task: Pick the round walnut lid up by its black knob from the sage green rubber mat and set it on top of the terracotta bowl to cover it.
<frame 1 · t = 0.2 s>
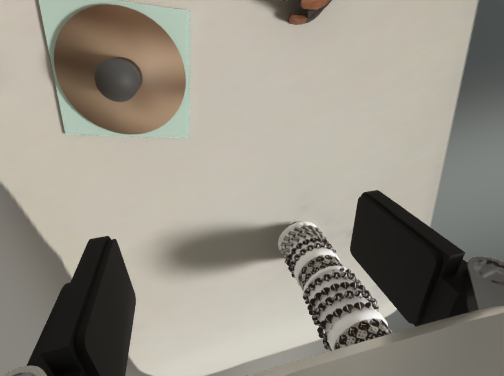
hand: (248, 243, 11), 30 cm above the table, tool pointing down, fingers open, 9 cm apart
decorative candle: (298, 238, 53), on the table
lid: (125, 75, 33), resting on mat
mat: (125, 74, 33), on the table
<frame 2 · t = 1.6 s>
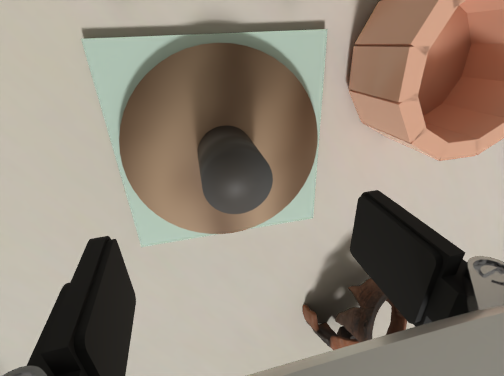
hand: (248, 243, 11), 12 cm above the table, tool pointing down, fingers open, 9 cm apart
lid: (224, 149, 20), resting on mat
mat: (223, 147, 21), on the table
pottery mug: (341, 301, 33), on the table
bowl: (412, 63, 21), on the table
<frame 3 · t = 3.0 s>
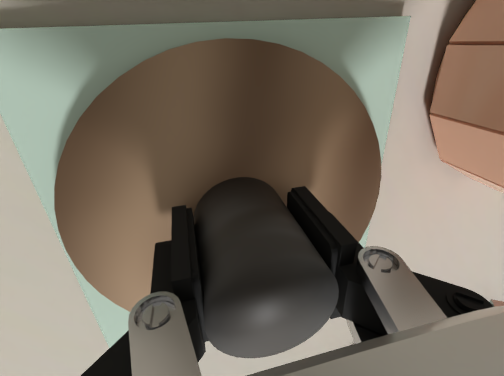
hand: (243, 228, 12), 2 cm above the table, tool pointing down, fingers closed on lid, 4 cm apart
lid: (235, 208, 13), point 1 cm above the table, touching gripper, mat
mat: (234, 203, 13), on the table
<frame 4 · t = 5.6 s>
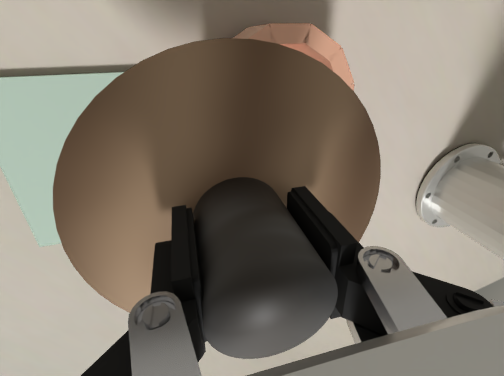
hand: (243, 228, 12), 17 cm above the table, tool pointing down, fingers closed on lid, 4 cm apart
lid: (235, 208, 13), point 15 cm above the table, touching gripper
mat: (104, 163, 25), on the table
bowl: (263, 94, 26), on the table
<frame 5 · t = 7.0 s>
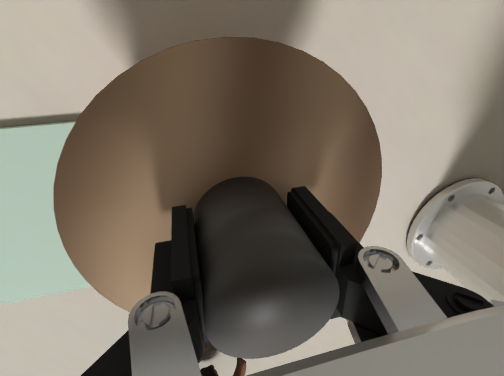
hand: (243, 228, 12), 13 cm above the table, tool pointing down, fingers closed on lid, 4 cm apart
lid: (236, 208, 13), point 11 cm above the table, touching gripper
mat: (33, 221, 22), on the table
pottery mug: (200, 343, 34), on the table
when the fingers open (8 cm above the table, at t = 8.1 s): lid stays where it is, resting on bowl.
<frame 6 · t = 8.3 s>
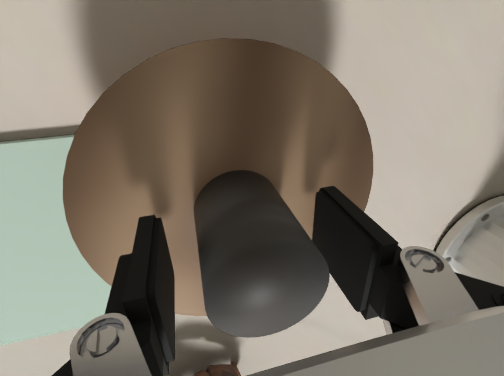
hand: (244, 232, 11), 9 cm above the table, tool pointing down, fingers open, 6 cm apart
lid: (234, 201, 14), point 6 cm above the table, touching bowl
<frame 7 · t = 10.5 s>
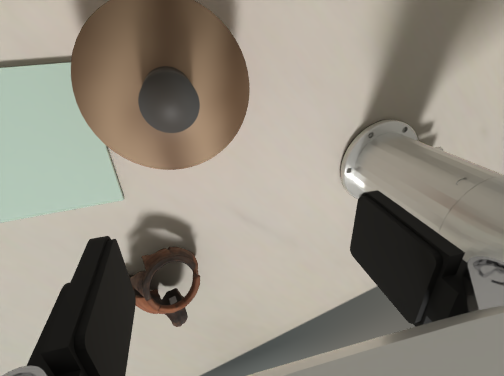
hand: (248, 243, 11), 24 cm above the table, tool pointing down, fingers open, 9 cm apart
lid: (168, 90, 24), point 6 cm above the table, touching bowl
mat: (24, 149, 28), on the table
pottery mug: (164, 270, 40), on the table
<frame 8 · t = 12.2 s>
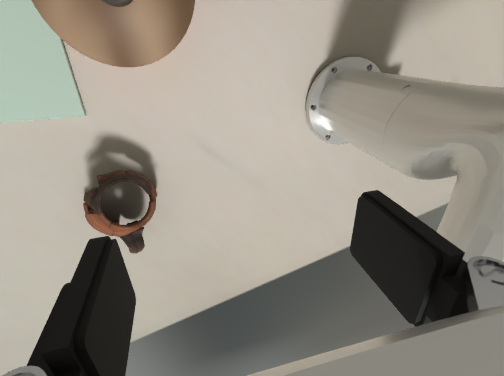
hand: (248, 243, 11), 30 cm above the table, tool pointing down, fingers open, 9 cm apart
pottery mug: (125, 201, 41), on the table
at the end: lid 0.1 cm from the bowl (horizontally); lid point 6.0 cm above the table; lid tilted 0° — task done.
